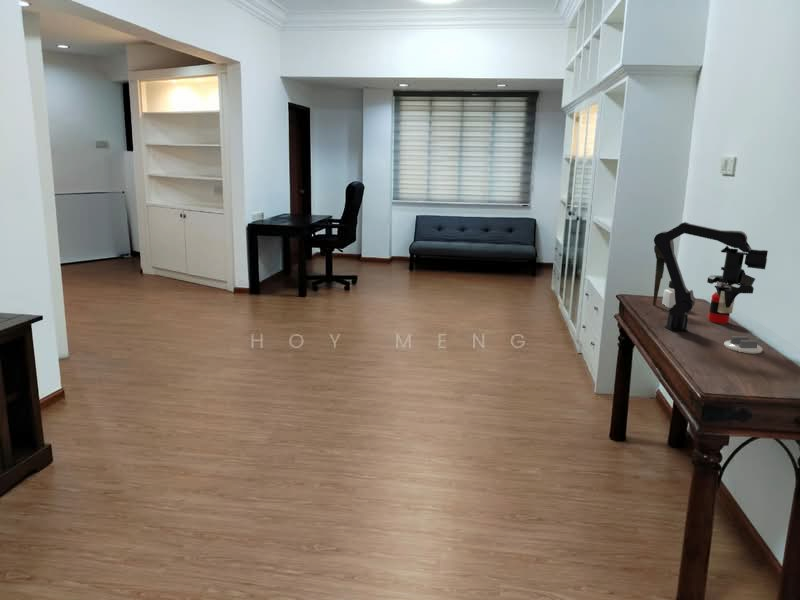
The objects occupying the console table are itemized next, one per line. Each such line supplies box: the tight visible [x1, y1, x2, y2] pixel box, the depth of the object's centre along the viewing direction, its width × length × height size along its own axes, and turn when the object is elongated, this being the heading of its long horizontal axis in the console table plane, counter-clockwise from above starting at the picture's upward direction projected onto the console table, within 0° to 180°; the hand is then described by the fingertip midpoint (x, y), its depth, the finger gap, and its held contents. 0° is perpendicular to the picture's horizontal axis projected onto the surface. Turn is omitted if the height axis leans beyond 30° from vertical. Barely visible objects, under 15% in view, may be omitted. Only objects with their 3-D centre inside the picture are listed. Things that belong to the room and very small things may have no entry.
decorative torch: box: [652, 244, 666, 306], centre depth 270 cm, size 7×7×30 cm
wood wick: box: [718, 291, 735, 314], centre depth 224 cm, size 4×2×8 cm, turn 97°
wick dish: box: [723, 335, 763, 354], centre depth 215 cm, size 12×12×4 cm
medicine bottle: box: [661, 280, 676, 309], centre depth 272 cm, size 7×7×12 cm
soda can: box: [707, 291, 731, 325], centre depth 249 cm, size 8×8×12 cm
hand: (725, 306), depth 225 cm, fingers closed on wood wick, 2 cm apart
